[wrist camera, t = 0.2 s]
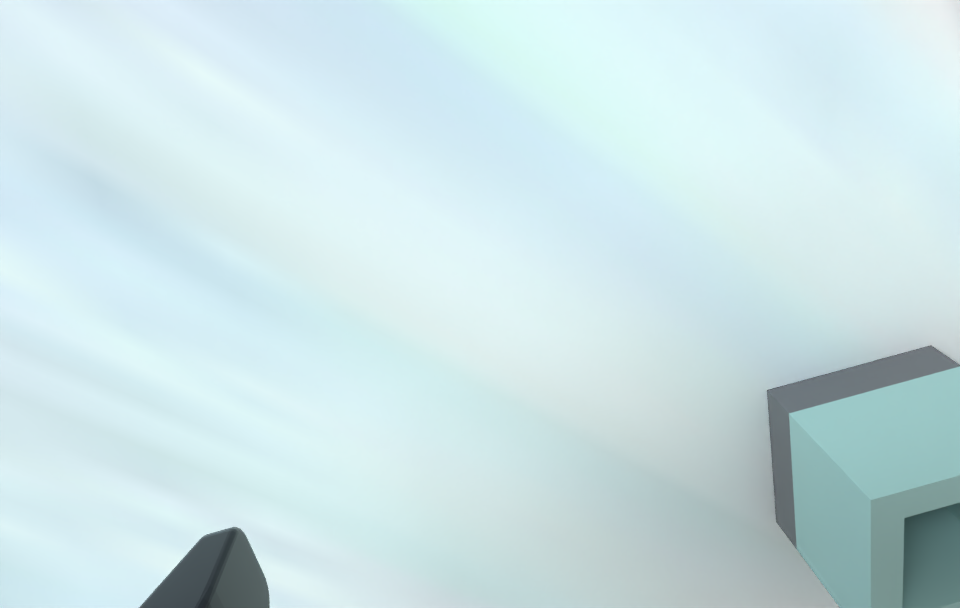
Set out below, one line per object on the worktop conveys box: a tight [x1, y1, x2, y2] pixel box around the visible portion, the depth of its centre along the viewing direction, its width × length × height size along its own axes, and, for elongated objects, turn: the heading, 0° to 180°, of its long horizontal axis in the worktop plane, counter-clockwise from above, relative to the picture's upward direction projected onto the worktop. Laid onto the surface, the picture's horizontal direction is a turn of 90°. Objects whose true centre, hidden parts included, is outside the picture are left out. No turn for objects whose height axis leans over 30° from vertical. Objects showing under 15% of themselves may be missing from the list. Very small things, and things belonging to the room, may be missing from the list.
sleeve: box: [767, 346, 960, 608], centre depth 25 cm, size 6×6×6 cm
